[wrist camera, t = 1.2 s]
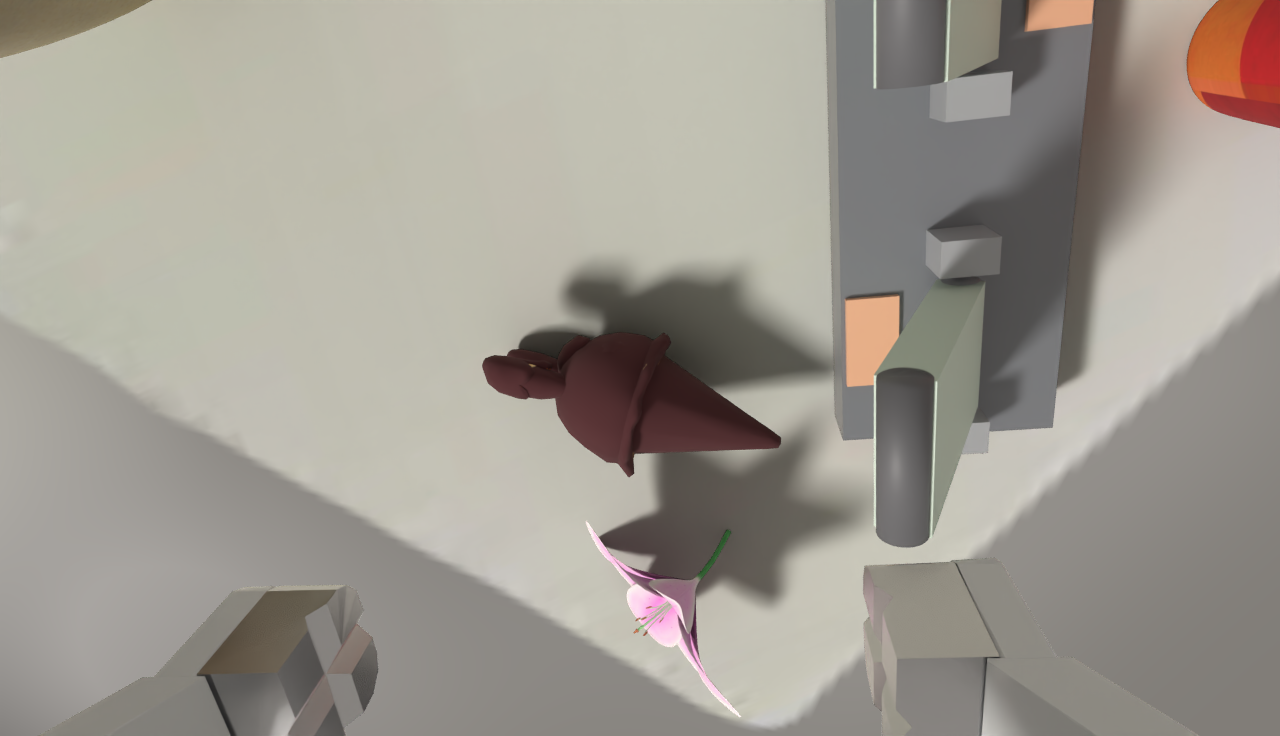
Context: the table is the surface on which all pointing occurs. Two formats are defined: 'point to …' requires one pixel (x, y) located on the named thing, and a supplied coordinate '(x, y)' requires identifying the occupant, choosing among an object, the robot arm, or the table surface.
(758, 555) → the table surface
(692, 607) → the lily
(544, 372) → the icecream
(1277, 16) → the paper cup
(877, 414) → the lever
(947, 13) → the lever
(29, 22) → the plant pot
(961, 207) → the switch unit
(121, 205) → the table surface
